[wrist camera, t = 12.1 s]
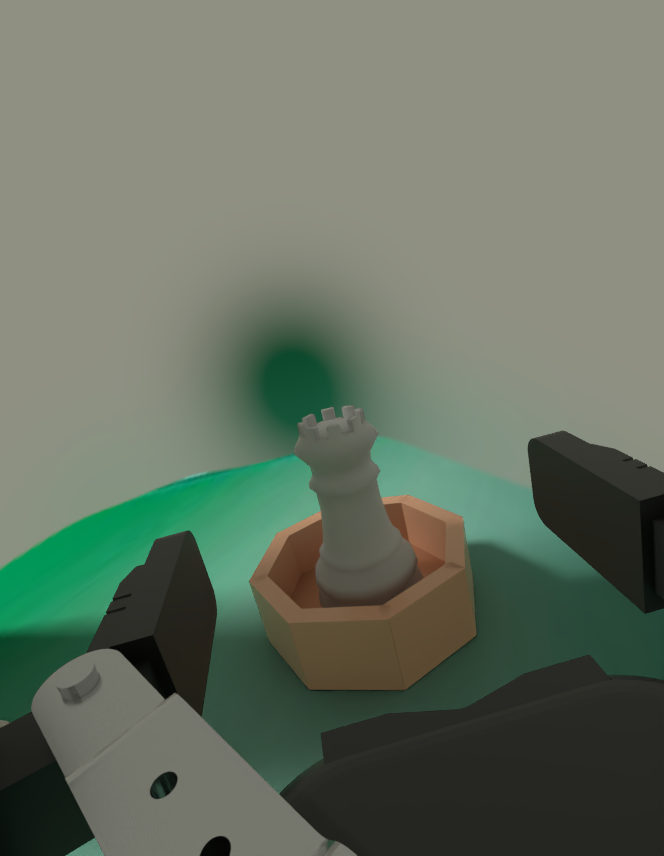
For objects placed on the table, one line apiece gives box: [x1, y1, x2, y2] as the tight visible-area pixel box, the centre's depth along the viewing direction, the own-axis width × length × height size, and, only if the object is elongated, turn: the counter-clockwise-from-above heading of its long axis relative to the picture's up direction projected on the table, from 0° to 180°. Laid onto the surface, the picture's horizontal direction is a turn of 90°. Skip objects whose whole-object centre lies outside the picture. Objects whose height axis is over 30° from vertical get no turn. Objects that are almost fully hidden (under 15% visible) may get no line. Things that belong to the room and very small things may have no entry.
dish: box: [249, 495, 477, 690], centre depth 21 cm, size 8×8×3 cm
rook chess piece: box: [294, 406, 423, 608], centre depth 20 cm, size 4×4×8 cm
